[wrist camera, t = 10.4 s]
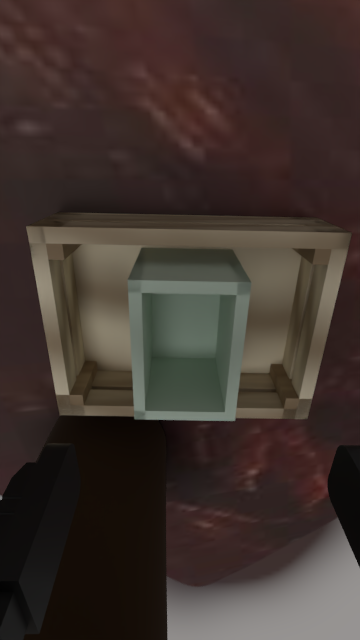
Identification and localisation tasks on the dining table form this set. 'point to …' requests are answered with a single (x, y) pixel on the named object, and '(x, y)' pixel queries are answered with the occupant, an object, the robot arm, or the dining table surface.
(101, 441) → the olive oil
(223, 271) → the box
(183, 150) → the dining table surface
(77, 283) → the big crate
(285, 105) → the dining table surface
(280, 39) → the dining table surface
